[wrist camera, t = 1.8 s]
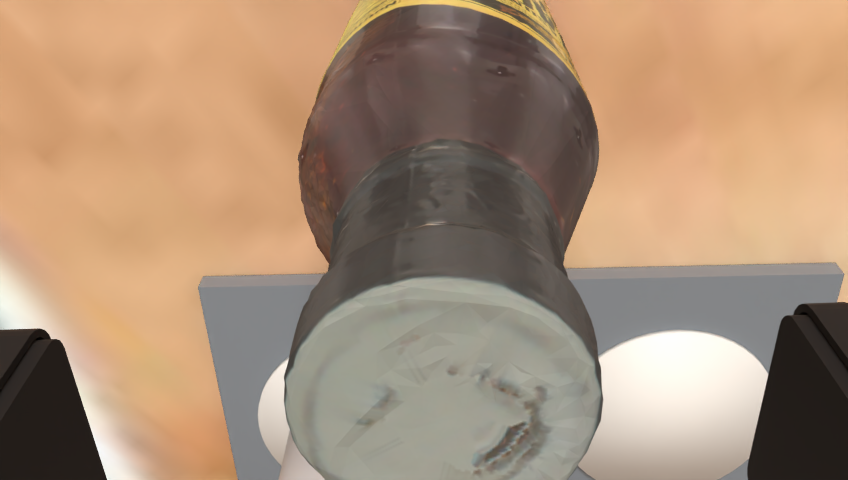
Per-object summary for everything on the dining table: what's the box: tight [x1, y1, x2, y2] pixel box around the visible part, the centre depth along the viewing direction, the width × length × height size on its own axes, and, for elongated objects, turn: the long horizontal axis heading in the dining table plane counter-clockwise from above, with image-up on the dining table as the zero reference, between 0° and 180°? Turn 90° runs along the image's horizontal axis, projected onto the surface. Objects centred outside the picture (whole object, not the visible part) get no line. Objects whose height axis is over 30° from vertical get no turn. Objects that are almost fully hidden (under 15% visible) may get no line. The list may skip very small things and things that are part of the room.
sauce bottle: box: [284, 0, 603, 480], centre depth 19 cm, size 6×6×20 cm
